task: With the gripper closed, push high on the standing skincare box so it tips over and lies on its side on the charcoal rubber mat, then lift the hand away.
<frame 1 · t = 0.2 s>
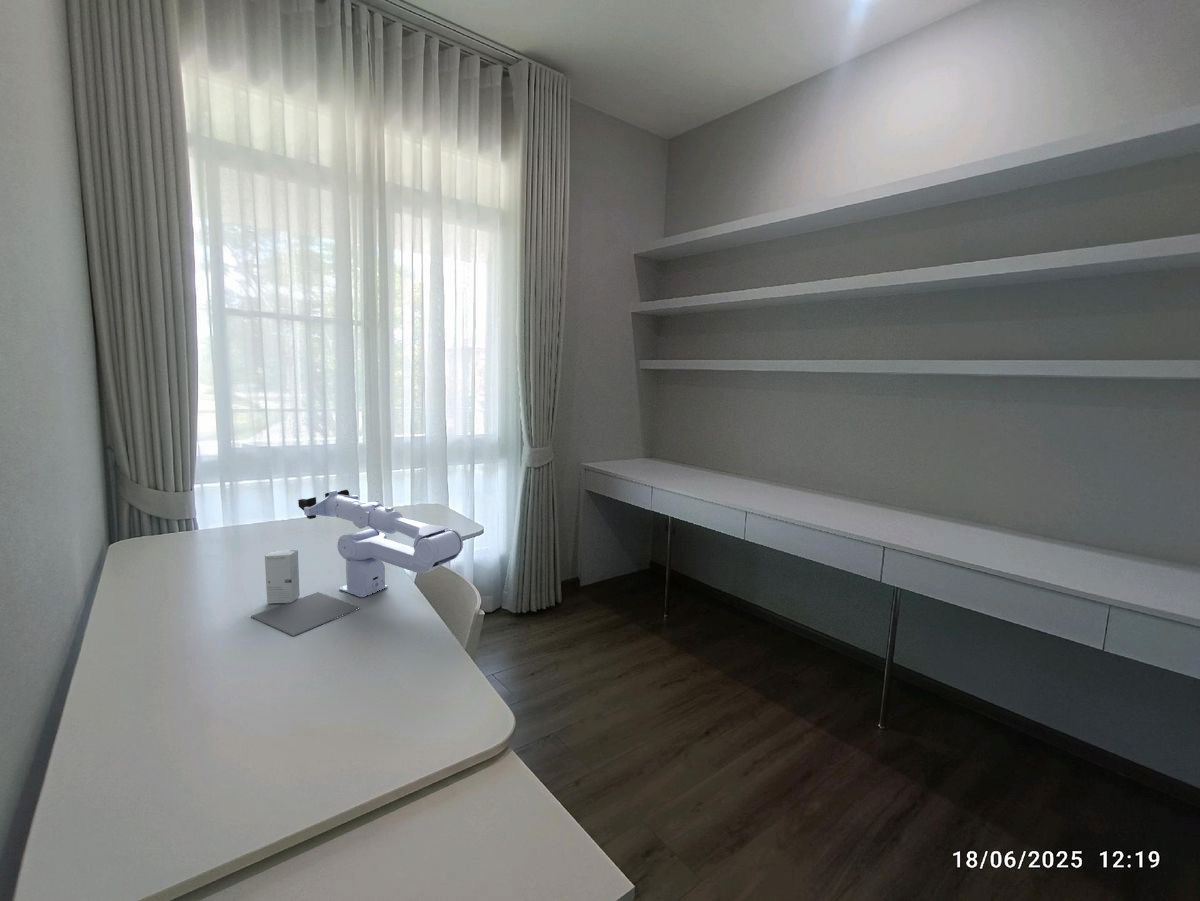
hand: (313, 499, 141), 21 cm above the table, tool horizontal, fingers open, 7 cm apart
skincare box: (284, 600, 126), on the table, touching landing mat
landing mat: (306, 612, 120), on the table
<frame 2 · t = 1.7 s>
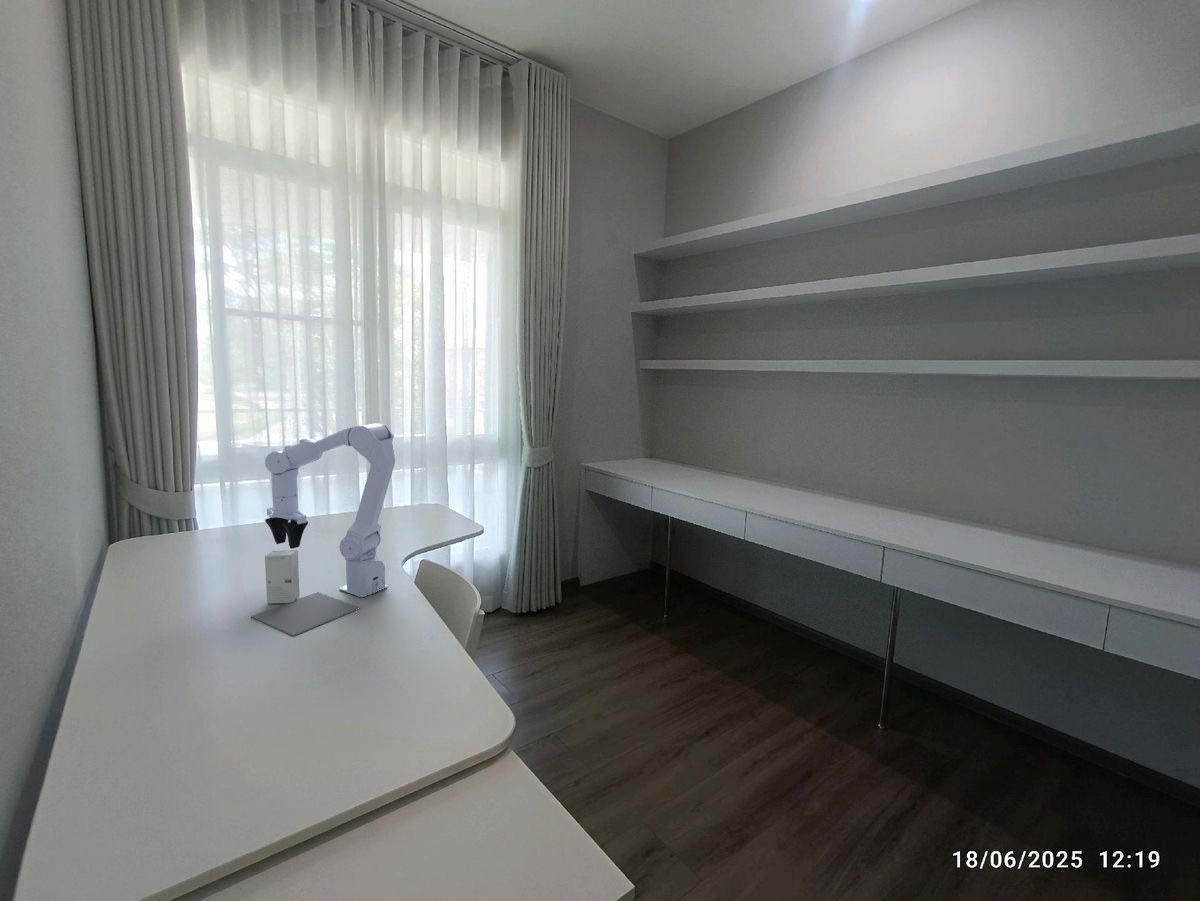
hand: (287, 545, 136), 10 cm above the table, tool pointing down, fingers open, 6 cm apart
nothing on the table moved.
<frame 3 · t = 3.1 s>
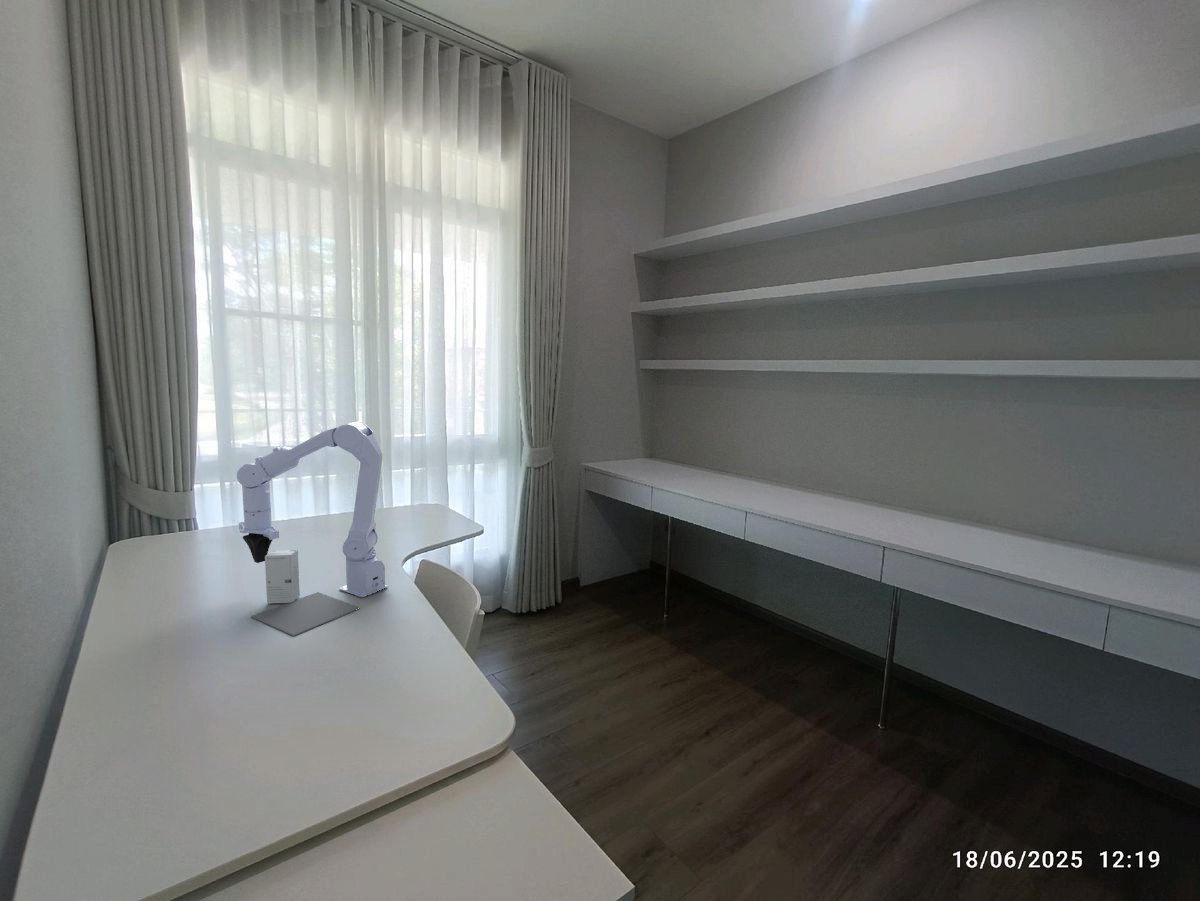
hand: (260, 561, 130), 8 cm above the table, tool pointing down, fingers closed
nothing on the table moved.
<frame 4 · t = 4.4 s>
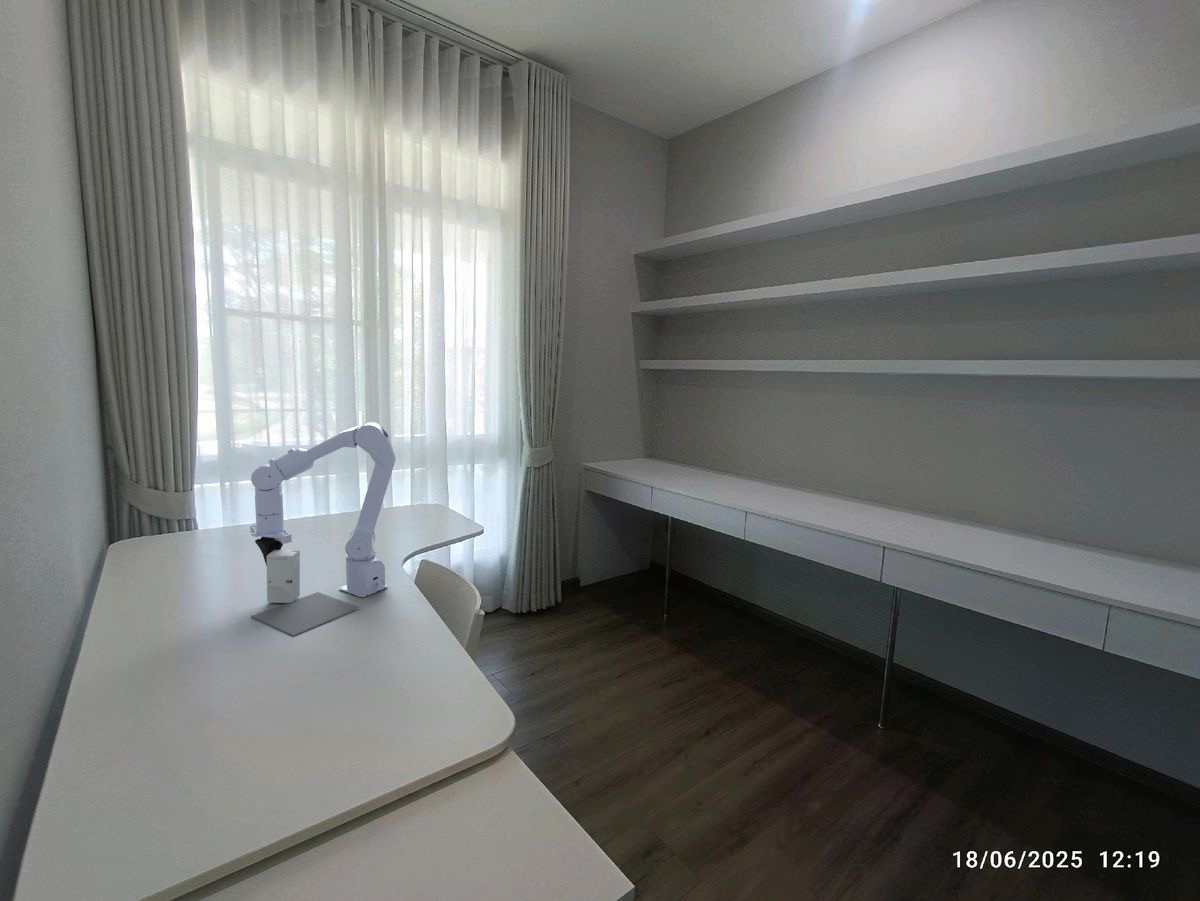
hand: (271, 565, 127), 8 cm above the table, tool pointing down, fingers closed
skincare box: (284, 599, 126), on the table, touching gripper, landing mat
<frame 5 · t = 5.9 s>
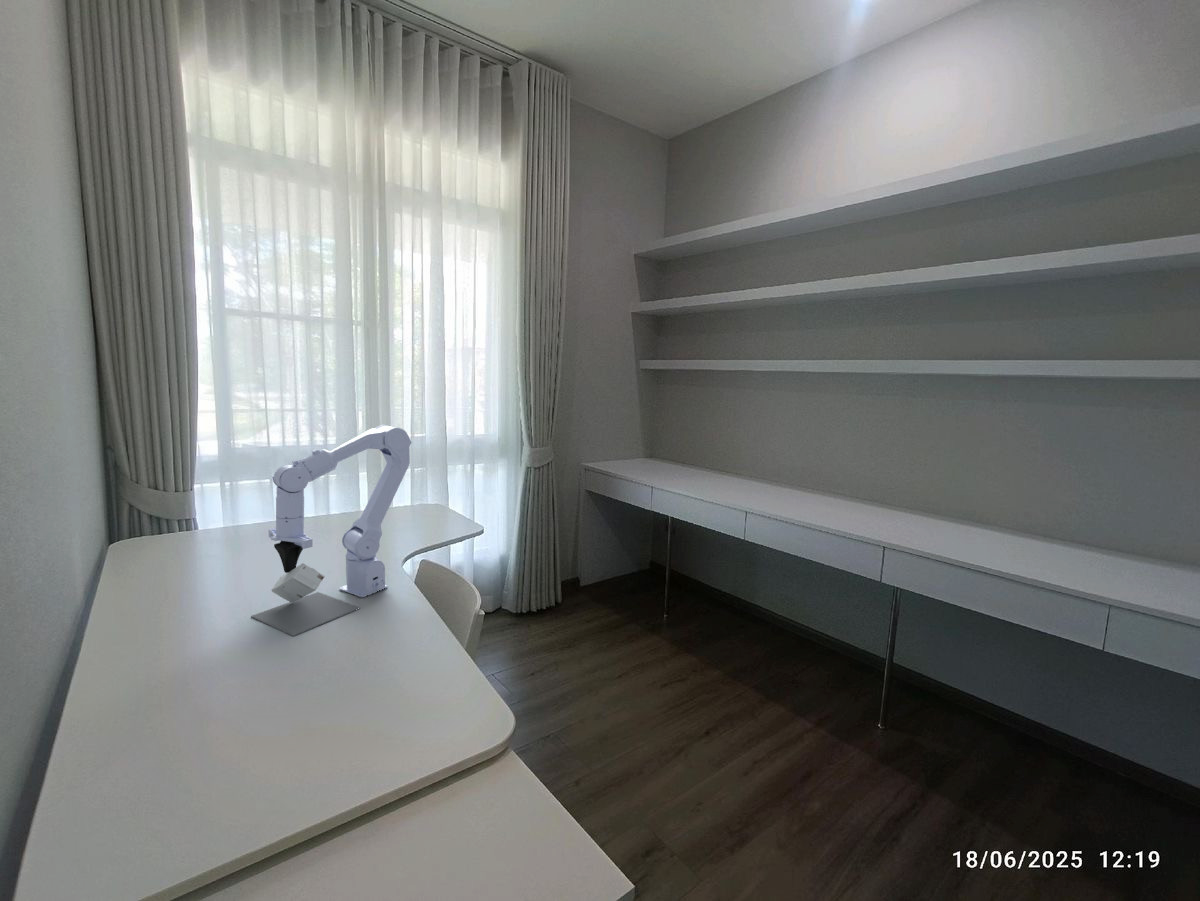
hand: (289, 571, 122), 9 cm above the table, tool pointing down, fingers closed, pressing on skincare box
skincare box: (287, 589, 125), point 3 cm above the table, touching gripper, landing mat
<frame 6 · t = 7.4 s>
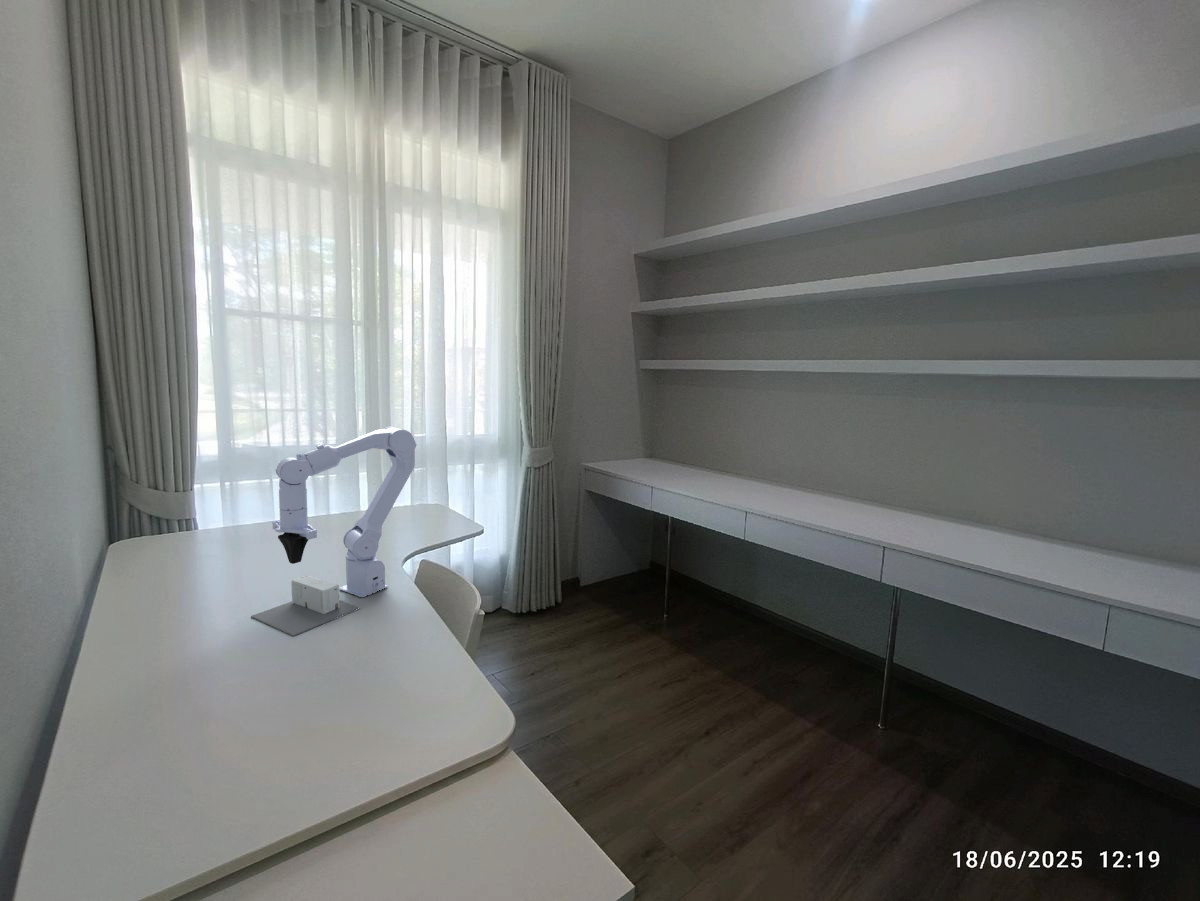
hand: (295, 562, 124), 10 cm above the table, tool pointing down, fingers closed
skincare box: (300, 588, 126), point 3 cm above the table, touching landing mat
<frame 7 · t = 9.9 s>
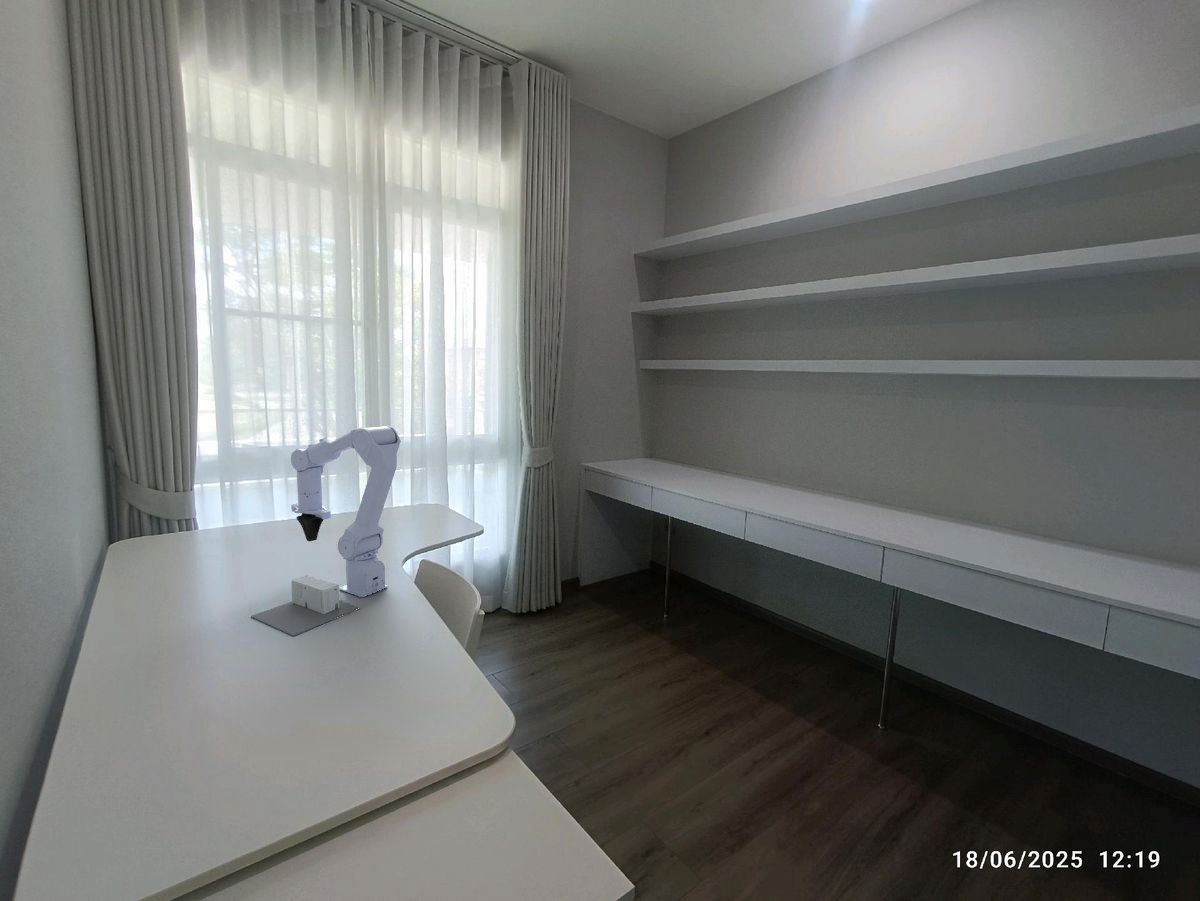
hand: (311, 540, 140), 10 cm above the table, tool pointing down, fingers closed
nothing on the table moved.
at the end: skincare box tilted 89°; skincare box touching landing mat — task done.
